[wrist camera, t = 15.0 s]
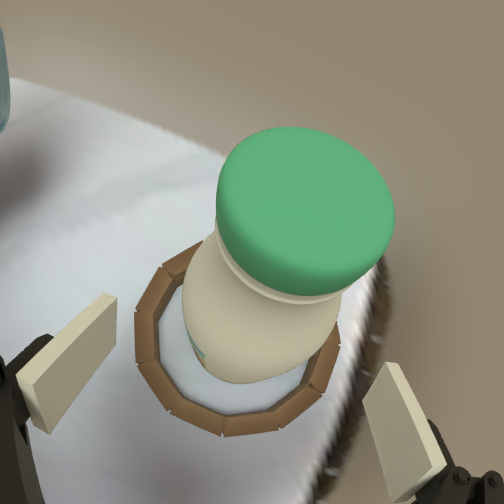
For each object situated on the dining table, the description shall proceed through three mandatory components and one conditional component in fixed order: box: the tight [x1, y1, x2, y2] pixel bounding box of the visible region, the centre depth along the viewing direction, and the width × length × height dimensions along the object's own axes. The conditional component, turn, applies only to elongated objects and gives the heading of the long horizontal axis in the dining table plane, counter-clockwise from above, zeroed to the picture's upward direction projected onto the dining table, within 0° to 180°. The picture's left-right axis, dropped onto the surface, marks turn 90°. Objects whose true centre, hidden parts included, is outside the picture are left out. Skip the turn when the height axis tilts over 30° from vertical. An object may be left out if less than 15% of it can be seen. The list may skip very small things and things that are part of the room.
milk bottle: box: [182, 127, 395, 384], centre depth 16 cm, size 8×8×20 cm
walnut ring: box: [134, 240, 341, 437], centre depth 24 cm, size 16×16×2 cm
